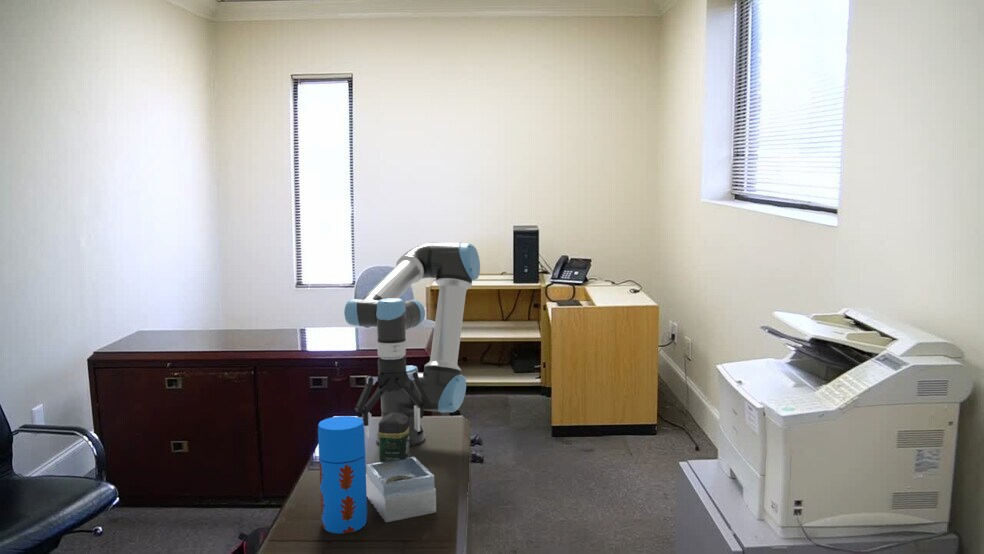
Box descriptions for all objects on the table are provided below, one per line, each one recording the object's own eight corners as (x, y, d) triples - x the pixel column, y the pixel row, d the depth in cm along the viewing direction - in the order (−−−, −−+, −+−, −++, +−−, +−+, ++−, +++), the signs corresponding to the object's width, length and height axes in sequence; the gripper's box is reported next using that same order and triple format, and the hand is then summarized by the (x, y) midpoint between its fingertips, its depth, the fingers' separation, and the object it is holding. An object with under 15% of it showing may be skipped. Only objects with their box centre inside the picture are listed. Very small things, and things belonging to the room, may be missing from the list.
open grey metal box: (413, 487, 204) (412, 455, 203) (436, 512, 189) (435, 477, 188) (366, 496, 199) (365, 463, 198) (385, 522, 184) (384, 486, 183)
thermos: (326, 537, 176) (322, 432, 173) (317, 518, 186) (313, 419, 183) (372, 528, 181) (369, 426, 177) (361, 510, 190) (358, 413, 187)
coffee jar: (406, 488, 204) (404, 421, 202) (376, 487, 205) (374, 420, 202) (413, 474, 213) (411, 410, 211) (385, 474, 214) (383, 409, 212)
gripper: (349, 364, 196) (351, 444, 198) (440, 354, 206) (441, 430, 209) (342, 358, 203) (344, 435, 205) (430, 349, 213) (431, 423, 216)
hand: (393, 433), depth 207 cm, fingers open, 13 cm apart
